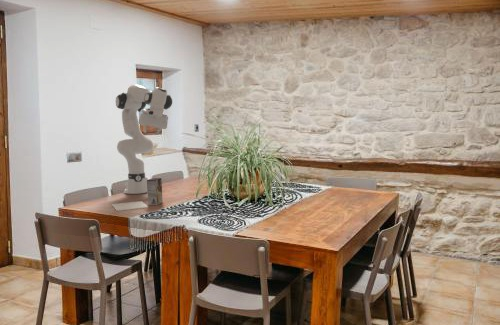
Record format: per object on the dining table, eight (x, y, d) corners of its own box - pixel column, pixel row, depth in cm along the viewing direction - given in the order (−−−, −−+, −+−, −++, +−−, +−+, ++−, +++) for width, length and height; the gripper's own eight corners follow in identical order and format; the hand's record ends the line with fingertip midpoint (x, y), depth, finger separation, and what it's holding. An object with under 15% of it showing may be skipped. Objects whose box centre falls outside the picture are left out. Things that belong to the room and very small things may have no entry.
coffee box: (153, 202, 303) (152, 177, 302) (162, 202, 302) (161, 177, 300) (147, 205, 295) (146, 180, 293) (157, 205, 293) (156, 180, 291)
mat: (111, 205, 297) (111, 204, 297) (141, 202, 305) (141, 201, 305) (116, 211, 279) (116, 210, 279) (148, 207, 287) (148, 206, 287)
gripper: (165, 114, 311) (160, 134, 312) (140, 109, 296) (135, 130, 297) (171, 116, 307) (166, 136, 308) (145, 110, 292) (140, 132, 293)
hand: (150, 133), depth 303 cm, fingers open, 8 cm apart
